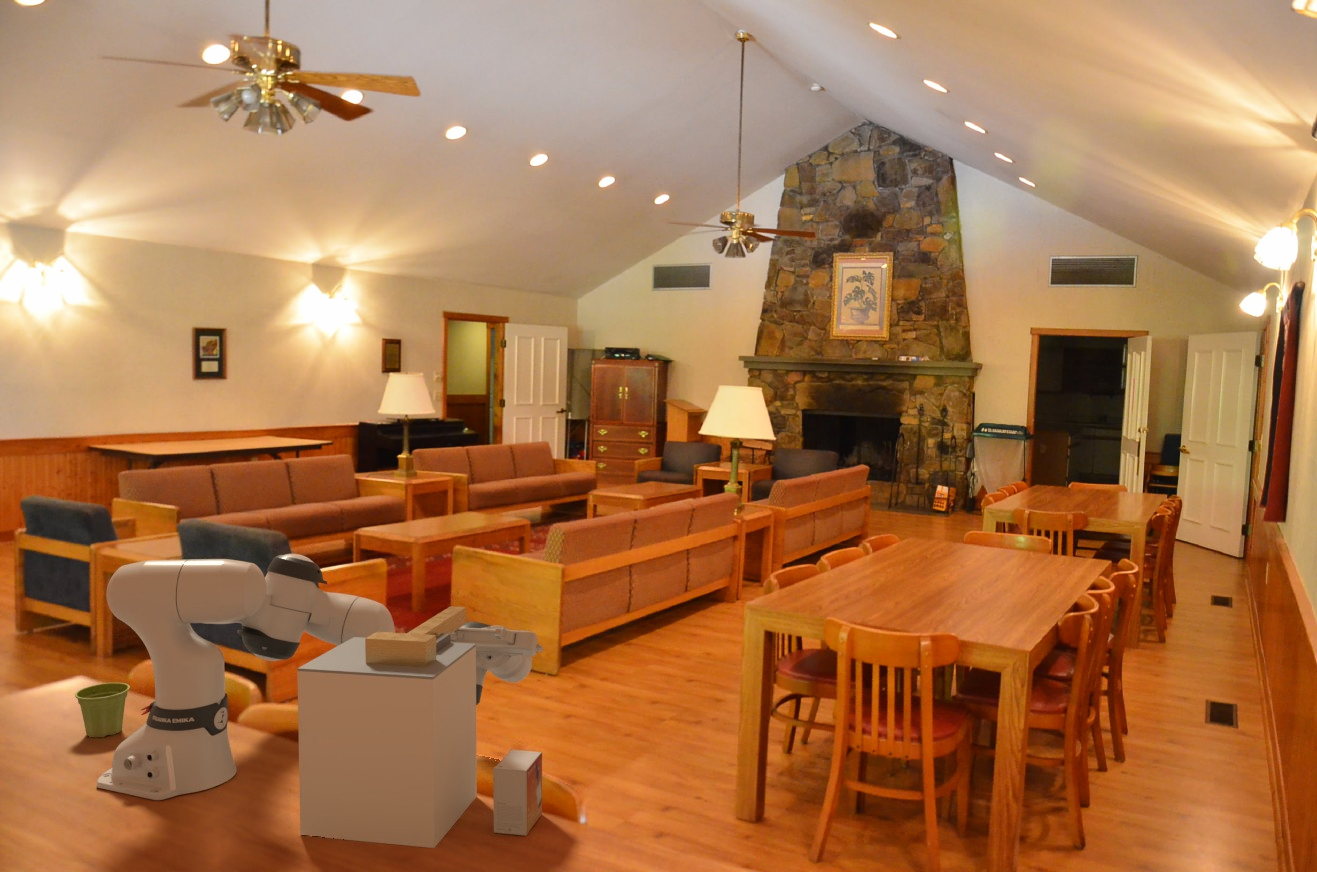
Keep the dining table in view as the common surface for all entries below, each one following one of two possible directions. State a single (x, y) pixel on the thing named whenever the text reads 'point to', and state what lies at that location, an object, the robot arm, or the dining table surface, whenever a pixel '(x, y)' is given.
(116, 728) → the plant pot
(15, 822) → the dining table surface
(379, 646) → the wooden t-shaped block
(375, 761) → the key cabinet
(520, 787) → the small box
